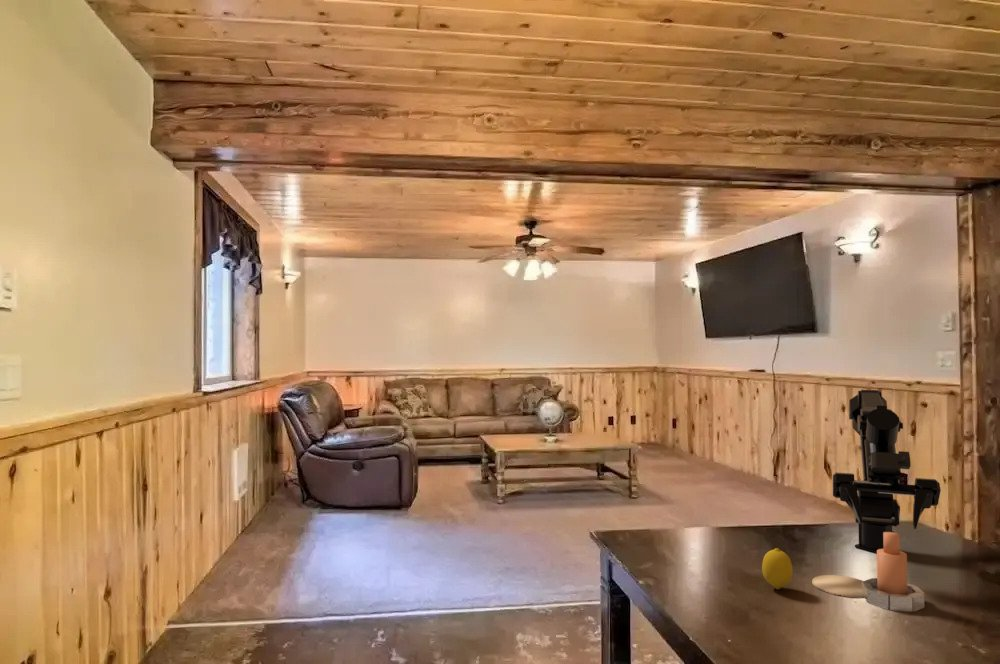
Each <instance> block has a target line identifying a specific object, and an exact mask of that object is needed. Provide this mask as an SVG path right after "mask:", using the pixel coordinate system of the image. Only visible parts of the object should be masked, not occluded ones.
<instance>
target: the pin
mask: <svg viewBox="0 0 1000 664" xmlns="http://www.w3.org/2000/svg"><path fill="white" fill-rule="evenodd" d="M883 544H884V549H878V550H877V553H876V561H877V562H876V565H877V566H876V568H877V569H876V571H877V573H876V575H877V577H876V578H877V585H878V590H879V591H882V592H886V593H889V594H898V595H908V593H907V583H908V554H907V553H906V552H904V551H901V549H900V546H901V545H900V534H899V533H897V532H895V531H894V532H884V533H883Z"/></svg>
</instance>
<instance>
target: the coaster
mask: <svg viewBox="0 0 1000 664" xmlns="http://www.w3.org/2000/svg"><path fill="white" fill-rule="evenodd" d="M862 581H863V580H862V579H859V578H856V577H850V576H845V575H837V574H824V575H823V574H822V575H818V576H815V577H814V578H812V581H811V582H812V584H811V585H813V587H815V588H816V589H817V588H818V589H817V590H819V589H820V590H819V591H821V590H823V591H822V592H824V591H825V592H824V593H826V592H828V593H827V594H830V593H831V594H830V595H833V594H836V595H835V596H838V595H841V596H840V597H843V596H846V597H845V598H853V597H863V598H864V595H863V594H862Z"/></svg>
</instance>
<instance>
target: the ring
mask: <svg viewBox="0 0 1000 664" xmlns="http://www.w3.org/2000/svg"><path fill="white" fill-rule="evenodd" d="M907 593H908V595H898V594H889V593H886V592H882V591H879V590H878V585H877V577H873V578H868V579H866V580H862V594H863V595H864V597H863V599H864V598H865V599H866V600H865V599H864V600H865V602H866V603H868V604H871V605H874V606H876V607H879V608H882V609H886V610H890V611H896V612H909V613H912V612H913V613H914V612H916V611H919V610H922V609H925V605H926V604H925V592H924V591H923V590H922V589H921V588H920V587H919V586H917V585H916V584H911V583H908V582H907Z"/></svg>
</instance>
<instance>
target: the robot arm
mask: <svg viewBox="0 0 1000 664" xmlns="http://www.w3.org/2000/svg"><path fill="white" fill-rule="evenodd" d="M887 402H888V401H887V400H886V399H885V398H884V397H883V395H882V391H881V390H878V389H860V390H858V391H857V395H855V396H853V397H851V398H850V399H849V401H848V420H851V425H852V429H853V431H855V432H856V433H857V435H859V441H860V453H861V466H862V476H863V478H862V479H863V480H855V474H854V473H849V472H834V473H833V474H832V496H833V497H834V498H835V499H836V498H837V499H839V501H841V502H844V503H846V504H847V506H848V507H849V508H850V510H851V511H852V512H853V515H854V518H853V519H854V521H855V522H854V523H855V524H856V523H857V524H858V525H857V526H858V543H856V544H854V548H857V549H860V550H865V551H868V552H872V553H874V554H875V553H876V554H877V550H878V549H884V544H883V533H884V532H894V533H895V531H894V530H893V527H898V526H900V512H901V506H900V505H899V503H898V500H897V499H895V498H894V495H898V496H899V495H901V496H902V495H903V496H913V505H912V506H913V508H912V509H913V511H912V525H913V530H917V528H918V525H919V523H920V522H919V521H920V518H921V516H922V514H923V512H924V511H925V510H926V509H930V508H931V507H932V506H933V507H935V506H938V505H939V500H940V495H941V485H940V484H941V483H940V482H939V481H938V480H936V479H934V478H923V477H915V480H914V484H905V483H904V484H902V483H900V480H902V472H901V470H909V469H910V468H911V466H912V465H911V455H910V451H901V450H900V451H898V453H897V451H896V450H897V449H896V443H897V441H898V435H899V433H900V432H901V429H902V430H903V429H904V423H903V422H902V421H900V417H899V416H898V414H897V413H895V411H893V410H892V409H890V408H888V403H887Z"/></svg>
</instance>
